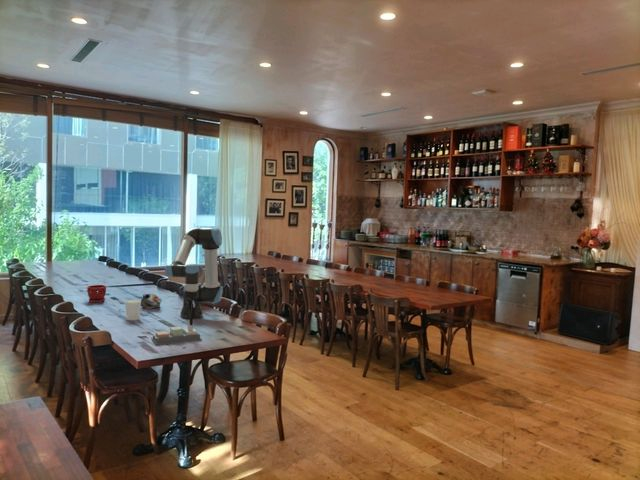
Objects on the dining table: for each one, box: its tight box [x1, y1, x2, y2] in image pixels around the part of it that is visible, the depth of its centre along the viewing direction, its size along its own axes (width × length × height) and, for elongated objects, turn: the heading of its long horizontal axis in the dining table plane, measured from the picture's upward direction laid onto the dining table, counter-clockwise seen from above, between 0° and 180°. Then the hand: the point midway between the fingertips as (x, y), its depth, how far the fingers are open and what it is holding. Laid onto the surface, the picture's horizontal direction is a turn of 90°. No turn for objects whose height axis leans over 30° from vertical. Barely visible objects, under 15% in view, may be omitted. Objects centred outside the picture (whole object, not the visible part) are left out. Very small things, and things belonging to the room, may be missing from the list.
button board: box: [151, 331, 202, 346], centre depth 285 cm, size 12×26×3 cm, turn 121°
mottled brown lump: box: [140, 293, 163, 310], centre depth 363 cm, size 15×12×14 cm
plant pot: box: [86, 284, 107, 303], centre depth 376 cm, size 13×13×12 cm
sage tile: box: [169, 326, 184, 336], centre depth 284 cm, size 6×6×4 cm
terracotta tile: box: [155, 330, 170, 338], centre depth 281 cm, size 6×6×4 cm
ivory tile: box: [183, 328, 198, 335], centre depth 289 cm, size 6×6×4 cm
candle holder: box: [125, 299, 142, 321], centre depth 328 cm, size 10×10×12 cm
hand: (190, 329), depth 288 cm, fingers closed
